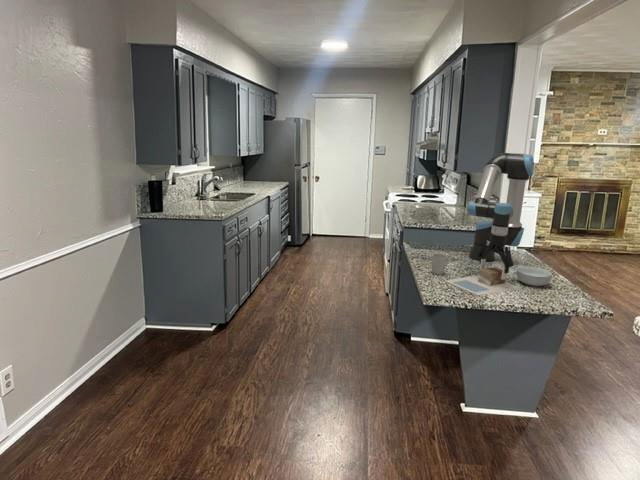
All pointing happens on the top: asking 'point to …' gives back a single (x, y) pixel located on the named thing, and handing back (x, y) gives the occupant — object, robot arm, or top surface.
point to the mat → (479, 286)
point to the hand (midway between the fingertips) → (492, 275)
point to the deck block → (491, 276)
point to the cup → (438, 263)
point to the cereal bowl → (533, 276)
